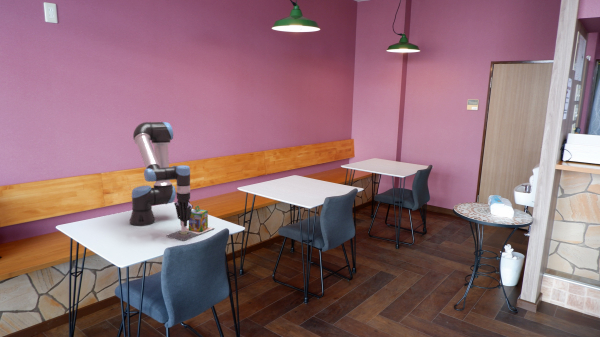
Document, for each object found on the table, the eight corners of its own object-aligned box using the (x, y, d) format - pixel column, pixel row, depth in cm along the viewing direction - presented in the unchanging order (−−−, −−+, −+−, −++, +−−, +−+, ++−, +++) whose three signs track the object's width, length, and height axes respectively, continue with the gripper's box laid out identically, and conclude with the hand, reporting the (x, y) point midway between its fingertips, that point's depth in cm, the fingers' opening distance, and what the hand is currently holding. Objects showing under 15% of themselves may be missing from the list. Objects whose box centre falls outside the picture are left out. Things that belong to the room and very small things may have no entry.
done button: (178, 235, 231) (178, 231, 231) (183, 233, 235) (183, 229, 234) (183, 236, 229) (183, 233, 229) (188, 234, 233) (188, 231, 232)
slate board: (166, 236, 232) (166, 232, 232) (197, 224, 255) (197, 221, 254) (183, 241, 225) (183, 237, 225) (214, 229, 248) (214, 225, 247)
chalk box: (202, 232, 239) (202, 208, 237) (188, 230, 241) (187, 207, 238) (208, 227, 248) (208, 205, 246) (195, 226, 250) (194, 203, 247)
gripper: (170, 191, 227) (171, 230, 231) (186, 195, 221) (187, 235, 225) (180, 189, 234) (180, 227, 238) (196, 192, 227) (196, 231, 232)
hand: (183, 231), depth 231 cm, fingers closed
